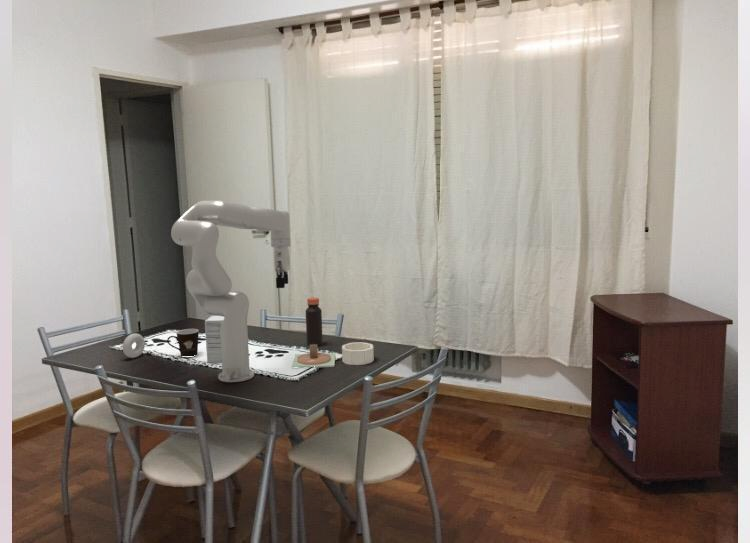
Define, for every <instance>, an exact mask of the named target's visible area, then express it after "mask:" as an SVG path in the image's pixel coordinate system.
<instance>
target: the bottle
mask: <svg viewBox="0 0 750 543" xmlns="http://www.w3.org/2000/svg"><path fill="white" fill-rule="evenodd" d="M306 300H307V308H306V309H305V326H306V327H305V328H306V331H305V332H306V345H307V346H309V347H310V344H317V347H319V346H322V345H323V344H324V343H323V342H324V341H323V339H324V338H323V317H322V314H323V313H322V309H321V307H319V305H320V298H319V297H309V298H307V299H306Z"/></svg>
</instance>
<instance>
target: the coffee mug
mask: <svg viewBox="0 0 750 543" xmlns="http://www.w3.org/2000/svg"><path fill="white" fill-rule="evenodd" d="M199 333H200V331H199V329H198V328H185V329H181V330H177V331H176V335H171V336H168V338H167V339H166V342H167V344H168V345H169V346H170V347H171V348H173V349H176V350H178V351H179V353H180V357H181V356H194V355H197V356H198V352H199ZM171 338H174V339H176V342H178V343H177V344H178V347H176V346H174V345H173V344H171V343H170V342H169V340H170V339H171ZM194 357H195V356H194Z"/></svg>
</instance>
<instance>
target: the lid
mask: <svg viewBox="0 0 750 543" xmlns="http://www.w3.org/2000/svg"><path fill="white" fill-rule="evenodd" d="M318 349H319V348H318V346H317V344H310V346H309V352H308V353H302V354H303V355H300V356H298V357H297V362H298V363H301V364H305V365H317V364H323V363H326V362H329V361H330V360H331V356H330V355H329V354H325V353H326V352H325V353H324V352H319V350H318Z"/></svg>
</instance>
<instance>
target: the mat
mask: <svg viewBox="0 0 750 543" xmlns="http://www.w3.org/2000/svg"><path fill="white" fill-rule="evenodd" d="M303 354H304V353H297V354H295V355H294V357H293V360H292V364H291V368H292V367H311V366H312V367H313V366H315V368H335V365H336V364H335V363H336V362H335V360H336V353H335V352H325V354H329V355H330V356H331V360H330V361H329V362H326V363H323V364H317V365H305V364H301V363H298V362H297V357H298V356H300V355H303Z"/></svg>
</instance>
